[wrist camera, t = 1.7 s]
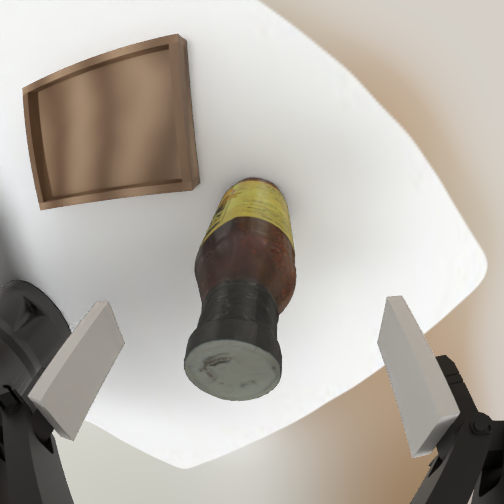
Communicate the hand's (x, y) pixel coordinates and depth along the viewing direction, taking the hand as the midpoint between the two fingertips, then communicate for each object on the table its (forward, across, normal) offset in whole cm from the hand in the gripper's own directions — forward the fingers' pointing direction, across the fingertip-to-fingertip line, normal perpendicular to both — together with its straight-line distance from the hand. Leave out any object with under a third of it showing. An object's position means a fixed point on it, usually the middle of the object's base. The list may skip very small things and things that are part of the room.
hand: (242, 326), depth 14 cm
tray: (+17, -15, +10) cm, 25 cm away
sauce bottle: (+18, -1, 0) cm, 18 cm away
